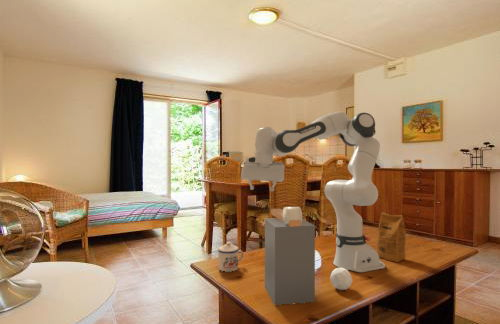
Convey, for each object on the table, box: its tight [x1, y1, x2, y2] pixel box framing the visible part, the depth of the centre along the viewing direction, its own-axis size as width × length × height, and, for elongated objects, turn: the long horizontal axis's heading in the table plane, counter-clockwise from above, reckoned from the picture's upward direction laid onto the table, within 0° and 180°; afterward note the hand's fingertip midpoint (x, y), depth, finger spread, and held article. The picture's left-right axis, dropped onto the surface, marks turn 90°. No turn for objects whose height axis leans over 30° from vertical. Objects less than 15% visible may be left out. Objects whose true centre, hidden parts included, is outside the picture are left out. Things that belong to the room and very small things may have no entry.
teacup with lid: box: [217, 241, 245, 273], centre depth 129 cm, size 12×9×12 cm
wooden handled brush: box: [270, 206, 303, 227], centre depth 108 cm, size 5×24×6 cm, turn 11°
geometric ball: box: [329, 267, 353, 291], centre depth 108 cm, size 8×8×8 cm
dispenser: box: [264, 217, 316, 306], centre depth 104 cm, size 14×15×26 cm
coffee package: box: [376, 212, 407, 263], centre depth 142 cm, size 10×12×22 cm
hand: (262, 190), depth 134 cm, fingers open, 8 cm apart
